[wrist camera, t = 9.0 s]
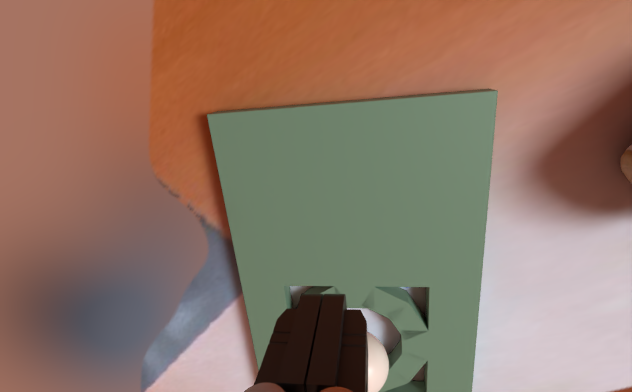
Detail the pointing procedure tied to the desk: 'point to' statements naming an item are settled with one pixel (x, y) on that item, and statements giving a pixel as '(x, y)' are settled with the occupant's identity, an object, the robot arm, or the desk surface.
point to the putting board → (366, 217)
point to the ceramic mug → (627, 163)
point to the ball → (376, 364)
